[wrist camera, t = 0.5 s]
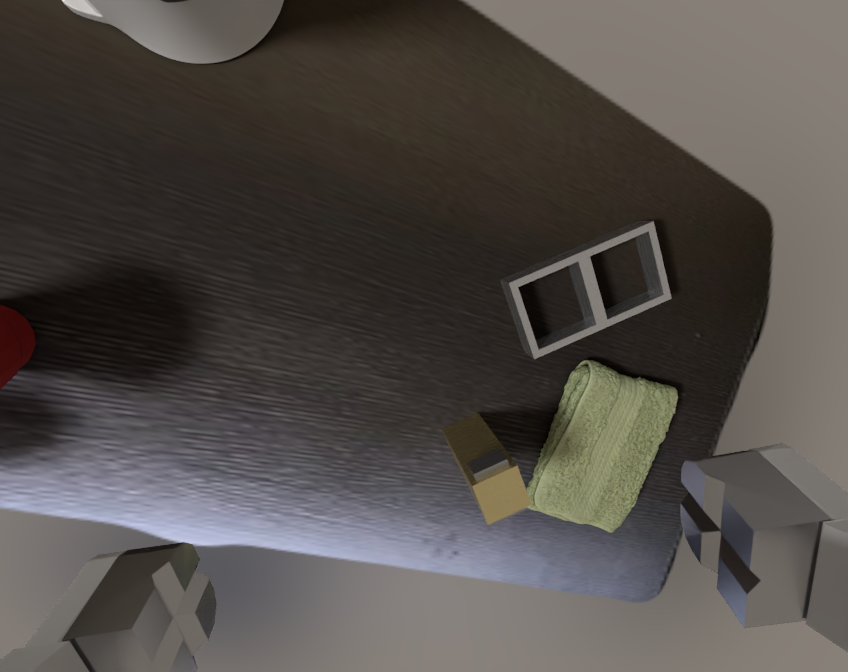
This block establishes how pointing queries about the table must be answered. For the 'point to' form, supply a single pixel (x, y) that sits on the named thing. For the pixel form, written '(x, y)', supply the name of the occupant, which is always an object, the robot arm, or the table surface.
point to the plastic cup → (14, 343)
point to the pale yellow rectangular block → (487, 469)
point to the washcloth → (600, 446)
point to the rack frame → (590, 288)
